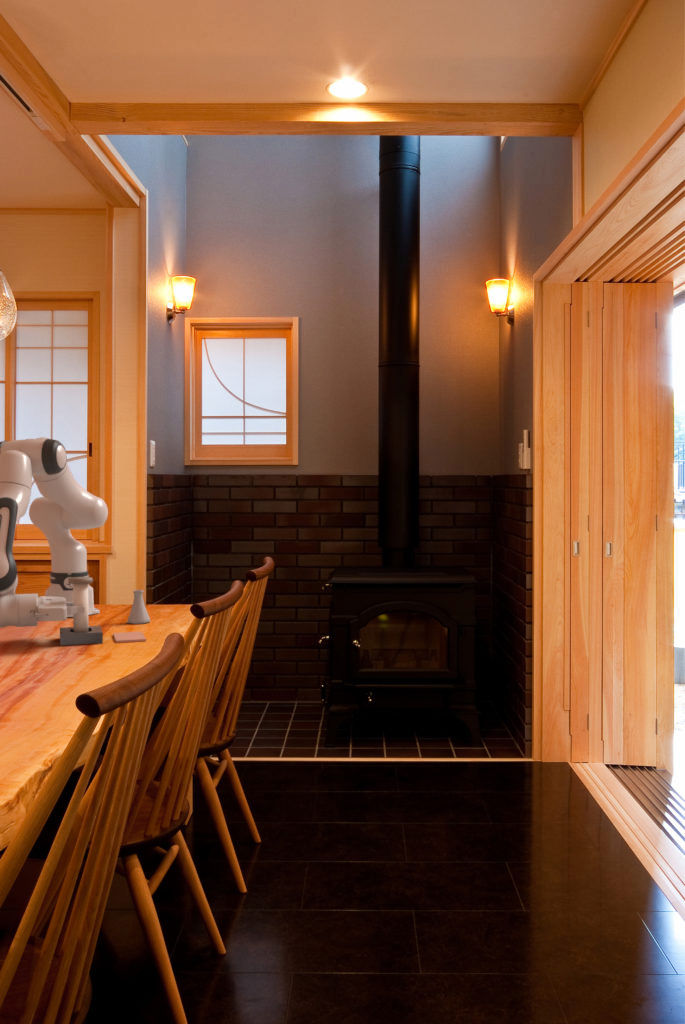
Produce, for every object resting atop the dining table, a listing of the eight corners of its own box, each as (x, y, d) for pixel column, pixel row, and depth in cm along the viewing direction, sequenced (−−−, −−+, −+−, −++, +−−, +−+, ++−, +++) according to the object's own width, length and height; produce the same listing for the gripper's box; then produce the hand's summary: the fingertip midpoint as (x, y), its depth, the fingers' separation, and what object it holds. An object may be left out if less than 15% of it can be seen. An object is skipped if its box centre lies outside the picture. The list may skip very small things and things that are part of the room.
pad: (113, 635, 248) (113, 633, 248) (141, 633, 251) (141, 631, 251) (116, 642, 237) (116, 640, 237) (146, 641, 239) (146, 639, 239)
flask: (144, 624, 266) (144, 592, 265) (122, 624, 267) (122, 591, 267) (154, 620, 273) (153, 589, 273) (132, 620, 274) (132, 588, 274)
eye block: (59, 638, 243) (59, 627, 243) (100, 636, 247) (100, 625, 247) (60, 645, 233) (60, 634, 233) (102, 643, 236) (102, 632, 236)
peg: (68, 638, 242) (68, 577, 241) (92, 637, 244) (92, 576, 243) (69, 643, 236) (68, 579, 235) (93, 641, 238) (93, 579, 237)
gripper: (29, 603, 225) (85, 601, 230) (31, 593, 245) (82, 591, 249) (30, 628, 226) (85, 625, 230) (31, 615, 245) (82, 613, 249)
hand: (84, 607), depth 240 cm, fingers closed on peg, 4 cm apart
